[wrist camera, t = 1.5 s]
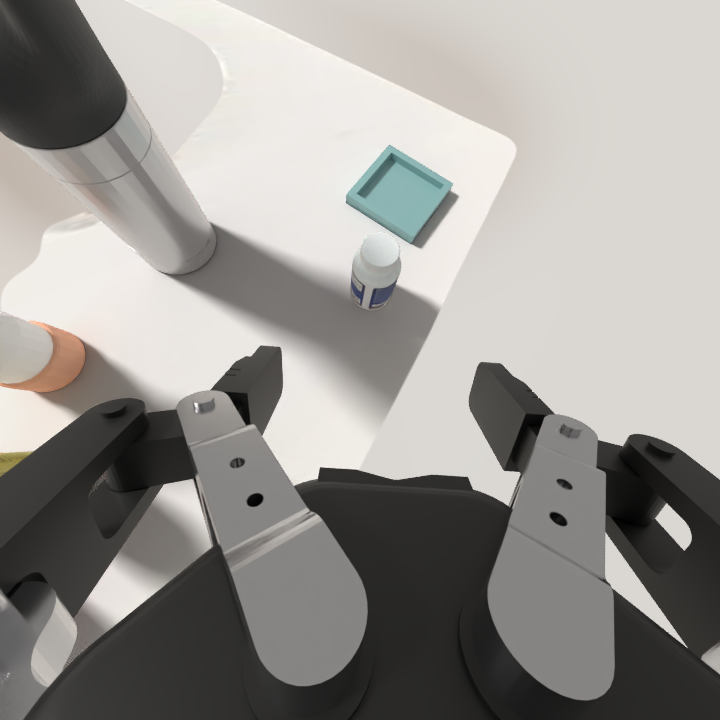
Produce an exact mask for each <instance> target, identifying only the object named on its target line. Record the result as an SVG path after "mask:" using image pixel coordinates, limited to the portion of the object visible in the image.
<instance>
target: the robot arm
mask: <svg viewBox="0 0 720 720" xmlns="http://www.w3.org/2000/svg"><path fill="white" fill-rule="evenodd" d="M0 131H1V132H2V133H3V134H4V135H5V136H7V137H8V138H9V139H10V140H11V141H12V142H13V143H14V144H16V145H17V146H18V147H19V148H20V149H21V150H22V151H23V152H24V153H26V154H27V155H28V156H29V157H30V158H31V159H32V160H33V161H35V162H36V163H37V164H38V165H39V166H40V167H41V168H42V169H43V170H45V171H46V172H47V173H48V174H49V175H51V176H52V177H53V178H54V179H55V180H56V181H57V182H58V183H59V184H60V185H62V186H63V187H64V188H65V189H66V190H67V191H68V192H69V193H71V194H72V195H73V196H74V197H75V198H76V199H77V200H78V201H79V202H81V203H82V204H83V205H84V206H85V207H86V208H87V209H89V210H90V211H91V212H92V213H93V214H94V215H95V216H96V217H97V218H98V219H100V220H101V221H102V222H103V223H104V224H105V225H106V226H107V227H109V228H110V229H111V230H112V231H113V232H114V233H115V234H116V235H117V236H119V237H120V238H121V239H122V240H123V241H124V242H125V243H126V244H127V245H129V246H130V247H131V248H132V249H133V250H134V251H135V252H136V253H137V254H138V255H140V256H141V257H142V258H143V259H144V260H145V261H146V262H147V263H149V264H150V265H151V266H152V267H154V268H155V269H156V270H158V271H161V272H163V273H167V274H185V273H189V272H192V271H195V270H197V269H198V268H200V267H202V266H203V265H204V264H205V263H207V262H208V260H209V259H210V258H211V257H212V255H213V253H214V251H215V247H216V235H215V231H214V229H213V228H212V226H211V224H210V223H209V221H208V219H207V218H206V216H205V214H204V213H203V211H202V209H201V208H200V206H199V204H198V202H197V201H196V199H195V197H194V196H193V194H192V193H191V191H190V189H189V188H188V186H187V184H186V183H185V181H184V179H183V178H182V176H181V175H180V173H179V171H178V170H177V168H176V166H175V165H174V163H173V161H172V160H171V158H170V157H169V155H168V154H167V152H166V150H165V148H164V147H163V145H162V143H161V142H160V140H159V138H158V137H157V135H156V133H155V132H154V130H153V129H152V127H151V126H150V124H149V122H148V120H147V119H146V117H145V116H144V114H143V113H142V111H141V109H140V108H139V106H138V104H137V103H136V101H135V99H134V98H133V96H132V94H131V93H130V91H129V90H128V88H127V86H126V85H125V83H124V81H123V80H122V78H121V77H120V75H119V73H118V72H117V70H116V69H115V67H114V65H113V64H112V62H111V60H110V59H109V57H108V55H107V54H106V52H105V51H104V49H103V48H102V46H101V44H100V42H99V40H98V39H97V37H96V35H95V34H94V32H93V30H92V29H91V27H90V25H89V24H88V22H87V20H86V18H85V17H84V15H83V13H82V12H81V10H80V8H79V7H78V5H77V3H76V2H75V0H0ZM282 388H283V374H282V352H281V348H280V347H274V346H260V347H259V348H258V349H257V350H256V352H255V353H254V354H253V355H252V356H251V357H248V356H246V357H244V358H242V359H240V360H238V361H236V362H235V363H234V364H233V365H232V366H231V368H230V370H228V371H227V372H226V373H225V375H223V376H222V378H221V379H220V380H219V381H218V382H217V383H216V384H215V385H214V386H213V388H212V389H211V390H210V391H202V392H197V393H194V394H191V395H189V396H187V397H185V398H184V399H182V400H181V401H180V402H179V403H178V405H177V409H176V410H168V411H160V412H151V413H147V411H146V407H145V404H144V402H143V401H141V400H138V399H133V398H124V399H117V400H112V401H108V402H105V403H102V404H100V405H97V406H95V407H93V408H91V409H90V410H88V411H87V412H85V413H84V414H83V415H81V416H80V417H79V418H77V419H76V420H75V421H73V422H72V423H71V424H69V425H68V426H67V427H65V428H64V429H63V430H61V431H60V432H59V433H58V434H56V435H55V436H54V437H52V438H51V439H50V440H48V441H47V442H46V443H44V444H43V445H42V446H40V447H39V448H38V449H36V450H35V451H34V452H32V453H31V454H30V455H28V456H27V457H26V458H24V459H23V460H22V461H20V462H19V463H18V464H16V465H15V466H14V467H12V468H11V469H10V470H8V471H7V472H6V473H5V474H3V475H2V476H1V477H0V720H720V480H719V479H718V478H716V477H715V476H714V475H713V474H711V473H710V472H709V471H708V470H706V469H705V468H704V467H702V466H701V465H700V464H698V463H697V462H696V461H694V460H693V459H692V458H691V457H689V456H688V455H687V454H686V453H684V452H683V451H681V450H680V449H678V448H677V447H675V446H673V445H671V444H669V443H667V442H665V441H662V440H660V439H657V438H654V437H651V436H647V435H642V434H633V435H630V436H629V437H628V439H627V441H626V442H625V444H624V446H619V445H615V444H611V443H607V442H603V441H599V440H598V437H597V435H596V433H595V432H594V431H593V430H592V429H591V428H590V427H588V426H587V425H585V424H584V423H582V422H580V421H577V420H576V419H573V418H570V417H567V416H563V415H556V414H554V413H553V412H552V411H551V410H550V408H548V406H547V405H546V404H545V403H544V402H543V401H542V400H541V399H540V398H538V396H537V395H536V394H535V393H534V392H532V390H531V389H530V388H529V387H528V386H527V385H526V384H525V383H524V382H522V381H520V380H519V379H517V378H515V377H514V376H512V375H511V374H510V373H509V372H508V370H507V369H505V367H504V366H503V365H502V364H500V363H487V362H481V363H479V365H478V367H477V370H476V373H475V377H474V381H473V385H472V388H471V392H470V396H469V407H470V410H471V412H472V414H473V416H474V418H475V420H476V421H477V423H478V425H479V427H480V429H481V430H482V432H483V434H484V436H485V438H486V439H487V441H488V443H489V445H490V447H491V448H492V450H493V452H494V454H495V456H496V457H497V459H498V461H499V463H500V465H501V466H502V468H503V470H504V471H515V472H520V473H521V475H520V477H519V480H518V482H517V485H516V487H515V490H514V493H513V495H512V498H511V501H510V503H509V506H507V505H506V504H504V503H503V502H501V501H499V500H497V499H495V498H493V497H491V496H489V495H487V494H484V493H482V492H479V491H476V490H473V489H472V486H471V484H470V481H469V479H468V477H459V476H442V475H427V476H421V477H415V478H408V479H402V480H392V479H388V478H384V477H381V476H377V475H374V474H370V473H366V472H362V471H359V470H351V469H336V468H321V467H320V470H319V476H318V479H316V480H311V481H307V482H303V483H300V484H298V485H295V486H293V484H292V483H291V481H290V480H289V478H288V476H287V475H286V473H285V472H284V470H283V469H282V467H281V465H280V464H279V462H278V461H277V459H276V458H275V456H274V454H273V453H272V451H271V450H270V448H269V446H268V445H267V443H266V442H265V440H264V439H263V437H262V435H263V433H264V431H265V429H266V426H267V424H268V422H269V420H270V418H271V416H272V414H273V412H274V409H275V407H276V405H277V403H278V401H279V399H280V397H281V393H282ZM102 474H103V475H104V477H105V480H104V481H103V482H102V483H101V484H100V486H99V487H98V488H97V489H96V490H95V491H94V492H93V493H92V494H91V495H90V497H89V498H88V495H89V492H90V489H91V487H92V486H93V484H94V483H95V482H96V481H97V480H98V478H99V477H100V476H101V475H102ZM189 479H193V482H194V485H195V488H196V492H197V495H198V499H199V502H200V506H201V509H202V513H203V516H204V520H205V523H206V527H207V530H208V534H209V538H210V542H211V546H212V548H211V549H210V550H208V551H207V552H206V553H205V554H203V555H202V556H201V557H200V558H198V559H197V560H196V561H195V562H193V563H192V564H191V565H190V566H188V567H187V568H186V569H185V570H183V571H182V572H181V573H180V574H178V575H177V576H176V577H175V578H173V579H172V580H171V581H170V582H169V583H167V584H166V585H165V586H164V587H162V588H161V589H160V590H159V591H157V592H156V593H155V594H154V595H152V596H151V597H150V598H149V599H147V600H146V601H145V602H144V603H142V604H141V605H140V606H139V607H137V608H136V609H135V610H134V611H132V612H131V613H130V614H129V615H128V616H126V617H125V618H124V619H123V620H121V621H120V622H119V623H118V624H116V625H115V626H114V627H113V628H111V629H110V630H109V631H108V632H106V633H105V634H104V635H103V636H101V637H100V638H99V639H98V640H96V641H95V642H94V643H93V644H92V645H90V646H89V647H88V648H87V649H86V650H85V651H83V652H82V653H81V654H80V655H79V656H78V657H76V658H75V659H74V660H73V661H72V662H71V663H70V664H69V665H68V666H67V667H66V668H65V669H64V670H63V668H64V666H65V664H66V662H67V660H68V658H69V656H70V654H71V652H72V650H73V647H74V644H75V642H76V637H77V626H76V622H75V621H74V619H73V618H74V617H75V615H76V614H77V612H78V611H79V609H80V608H81V606H82V605H83V603H84V602H85V600H86V599H87V597H88V596H89V594H90V593H91V592H92V590H93V589H94V587H95V586H96V584H97V583H98V581H99V580H100V578H101V577H102V575H103V574H104V572H105V571H106V569H107V568H108V566H109V565H110V563H111V562H112V560H113V559H114V557H115V556H116V555H117V553H118V552H119V550H120V549H121V547H122V546H123V544H124V543H125V541H126V540H127V538H128V537H129V535H130V534H131V532H132V531H133V529H134V528H135V526H136V525H137V523H138V522H139V520H140V519H141V517H142V516H143V515H144V513H145V512H146V510H147V509H148V507H149V506H150V504H151V503H152V501H153V500H154V498H155V497H156V495H157V494H158V492H159V491H160V489H161V488H162V486H163V485H164V484H167V483H173V482H178V481H183V480H189ZM666 503H668V505H669V506H670V507H671V508H672V509H673V510H674V511H675V512H676V513H677V514H678V515H679V516H680V517H681V518H682V519H683V520H684V521H685V522H686V523H687V525H688V526H689V528H690V531H691V534H692V541H691V544H690V545H689V546H688V547H687V549H686V550H685V551H684V550H683V549H682V548H681V547H680V546H679V545H678V544H677V543H676V542H675V540H674V539H673V538H672V537H671V536H670V535H669V534H668V533H667V532H666V530H664V528H663V527H662V526H661V525H660V524H659V523H658V522H657V521H656V519H655V518H656V516H657V515H658V514H659V512H660V511H661V509H662V508H663V507H664V506H665V504H666ZM605 532H606V533H607V535H608V536H609V537H610V539H611V540H612V542H613V543H614V545H615V546H616V547H617V549H618V550H619V552H620V553H621V554H622V556H623V557H624V558H625V560H626V561H627V563H628V564H629V566H630V567H631V568H632V570H633V571H634V572H635V574H636V575H637V577H638V578H639V580H640V581H641V582H642V584H643V585H644V586H645V588H646V590H647V591H648V592H649V593H650V595H651V597H652V598H653V599H654V601H655V602H656V604H657V605H658V606H659V608H660V609H661V611H662V612H663V613H664V615H665V616H666V618H667V619H668V621H669V622H670V623H671V625H672V626H673V627H674V629H675V630H676V632H677V633H678V635H679V636H680V637H681V639H682V640H683V642H684V643H685V644H686V646H687V647H688V648H686V647H685V646H684V645H683V644H681V643H680V642H679V641H678V640H676V639H675V638H674V637H672V636H671V635H670V634H669V633H668V632H666V631H665V630H664V629H662V628H661V627H660V626H659V625H658V624H656V623H655V622H654V621H653V620H651V619H650V618H649V617H648V616H646V615H645V614H644V613H642V612H641V611H640V610H639V609H638V608H636V607H635V606H634V605H632V604H631V603H630V602H628V601H627V600H626V599H625V598H623V597H622V596H621V595H620V594H618V593H617V592H616V591H615V590H613V589H612V587H611V585H610V584H609V583H608V582H607V581H606V579H605Z"/></svg>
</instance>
